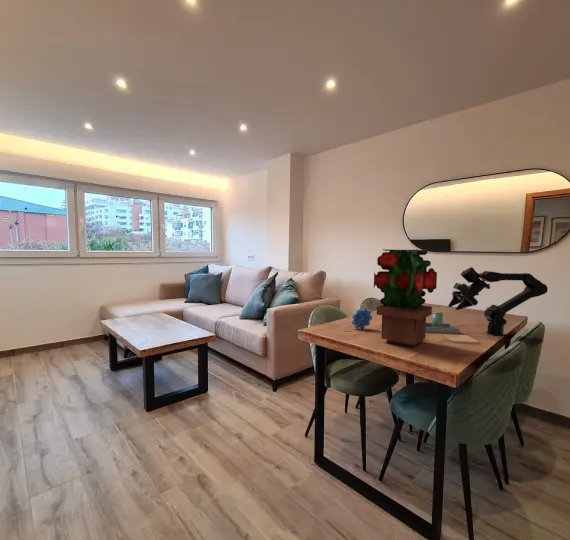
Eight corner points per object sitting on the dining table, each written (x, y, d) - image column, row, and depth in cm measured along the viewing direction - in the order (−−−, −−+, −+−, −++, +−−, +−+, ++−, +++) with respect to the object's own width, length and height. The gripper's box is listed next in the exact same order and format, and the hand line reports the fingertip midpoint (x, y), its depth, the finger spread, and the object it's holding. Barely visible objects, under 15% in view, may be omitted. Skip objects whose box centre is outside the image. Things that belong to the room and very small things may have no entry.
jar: (438, 328, 169) (439, 311, 168) (444, 331, 164) (444, 313, 163) (429, 328, 169) (430, 311, 168) (434, 331, 163) (435, 313, 163)
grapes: (369, 327, 174) (369, 306, 173) (373, 330, 167) (373, 309, 167) (349, 327, 174) (350, 306, 173) (352, 330, 167) (353, 308, 166)
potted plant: (372, 342, 144) (374, 249, 141) (389, 333, 161) (392, 250, 158) (420, 352, 129) (424, 249, 127) (434, 341, 146) (438, 250, 144)
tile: (467, 337, 155) (467, 335, 155) (478, 344, 144) (478, 342, 144) (442, 336, 157) (442, 334, 157) (452, 342, 145) (452, 340, 145)
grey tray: (449, 329, 171) (449, 323, 171) (458, 335, 159) (459, 328, 159) (416, 328, 173) (416, 322, 173) (423, 333, 161) (423, 327, 161)
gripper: (456, 276, 172) (435, 295, 174) (472, 279, 154) (449, 300, 156) (470, 290, 172) (449, 308, 174) (488, 295, 153) (464, 315, 155)
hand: (452, 308), depth 164 cm, fingers open, 9 cm apart
